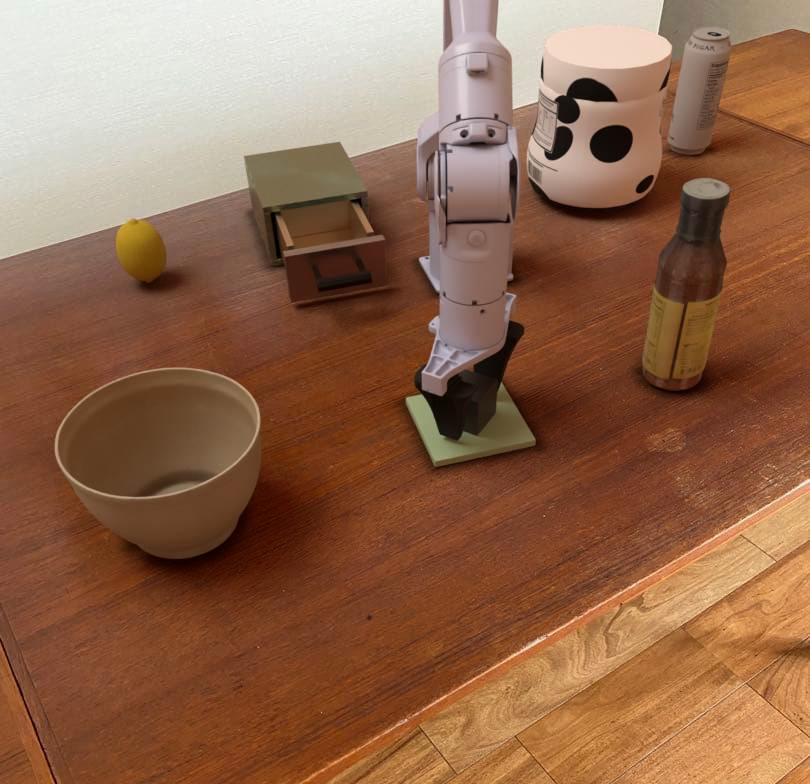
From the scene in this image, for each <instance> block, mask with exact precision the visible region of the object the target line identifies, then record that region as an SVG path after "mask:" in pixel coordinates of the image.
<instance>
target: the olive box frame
mask: <svg viewBox="0 0 810 784" xmlns="http://www.w3.org/2000/svg"><path fill="white" fill-rule="evenodd" d="M243 160H244V166H245V167H244V168H245V172H246V173H245V174H246V180H247V185H248V190H249V196H250V203H251V208H252V214H253V217H254V219H255V222H256V225H257V228H258V231H259V234H260V236H261V239H262V242H263V245H264V247H265V251H266V254H267V256H268V259H269V263H270V265H271V267H278V266H285V265H284V262H283V260H282V257H281V254H280V252H279V249H278V246H277V243H276V237H275V231H274V224H273V218H272V212H278V211H284V210H290V209H296V208H303V207H309V206H315V205H321V204H327V203H334V202H340V201H346V200H352V199H356V200H357V201H358V203H359V205H360V207H361V209H362V211H363V213H364V215H365V216H366V218H367V220H368V222H369V224H370V225H371V223H370V209H369V208H370V207H369V192H368V189H367V187H366V185H365V184H364V182H363V180H362V178H361V177H360V174H359V173H358V171H357V169H356V168H355V165H354V164H353V162H352V160H351V159H350V157H349V155H348V153H347V152H346V150H345V148H344V146H343V144H342V143H341V141H336V142H335V141H334V142H329V143H321V144H315V145H308V146H301V147H296V148H288V149H280V150H275V151H274V150H273V151H267V152H261V153H255V154H247V155H243Z"/></svg>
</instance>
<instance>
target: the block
mask: <svg viewBox="0 0 810 784" xmlns="http://www.w3.org/2000/svg"><path fill="white" fill-rule="evenodd" d="M460 376H462V381H464V382H467V383H471V384H474V385H477V386H479V387H478V389H477V390H476V392H475V393H474V395H473V397H472V399H471V401H470V404H469V406H468V410H467V414H466V420H465V426H464V432H467V433H470V434H473V435H476V436H478V434H479V433H480V432H481V431H482V429H483V428H484V427H485V426H486V424H487V423H488V422H489V421H490V419H491V418H492V417H493V416H494V414H495V413H496V403H497V387H498V380H497V379H494V378H491V377H488V376H485V375H482V374H479V373H476V372H474V370H473V371H472V370H470V369H465V370H463V371H461V372H459V377H460Z"/></svg>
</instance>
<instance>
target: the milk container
mask: <svg viewBox="0 0 810 784" xmlns="http://www.w3.org/2000/svg"><path fill="white" fill-rule="evenodd" d="M672 58H673V45H672V44H671V43H670V42H669V40H668V39H667V38H666V37H664V36H662V35H659V34H658V33H656V32H654V31H650V30H646V29H642V28H638V27H634V26H624V25H617V24H616V25H615V24H592V25H584V26H577V27H572V28H569V29H565V30H562V31H558V32H556V33H555V34H553V35H551V36H550V37H549V38H547V41H546V43H545V45H544V48H543V52H542V57H541V62H540V78H539V81H538V83H539V84H538V99H537V101H538V102H537V113H536V119H535V122H534V125H533V129H532V132H531V134H530V137H529V141H528V144H527V149H526V170H527V178H528V181H529V184H530V186H531V188H532V189H533V190H534V192H535V193H536V194H538V195H539V196H540V197H542V198H543V199H544V200H546V201H547V202H549V203H551V204H554V205H556V206H558V207H561V208H564V209H565V208H566V209H571V210H576V211H579V212H607V211H612V210H620V209H623V208H626V207H628V206H630V205H633V204H636V203H637V202H639V201H641V200H642V199H644V198H645V197H646V196H647V195H648V194H649V193H650V192H651V190H652V188H654V185H655V182H656V181H657V177H658V175H659V172H660V169H661V165H662V160H663V141H662V118H663V112H664V107H665V103H666V99H667V95H668V89H669V80H670V79H669V78H670V73H671V68H672V60H673V59H672Z"/></svg>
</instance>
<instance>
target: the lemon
mask: <svg viewBox="0 0 810 784" xmlns="http://www.w3.org/2000/svg"><path fill="white" fill-rule="evenodd" d="M165 245H166V244H165V242H164V240H163V238H162V236H161V234H160V233H159V231H158V230H157V229H156V227H155V226H154V225H152V224H151V223H149V222H147V221H145V220H142V219H137V218H135V217H133V218H132V217H131V218H130V219H129V220H127V222H125V223H124V224H122V225H121V226H120V228H119V229H118V231H117V234H116V237H115V251H116V256H117V258H118V261H119V263H120V266H121V267H122V269H123V271H125V273H126V274H127V275H129V276H130V277H131V278H133V279H135V280H137V281H141V282H142V281H143V282H146V283H147V284H150V283H152V282H154V280H155V279H157V278H158V277H159V276H160V275H162V273H163V272H164V270H165V268H166V265H167V250H166V246H165Z"/></svg>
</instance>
